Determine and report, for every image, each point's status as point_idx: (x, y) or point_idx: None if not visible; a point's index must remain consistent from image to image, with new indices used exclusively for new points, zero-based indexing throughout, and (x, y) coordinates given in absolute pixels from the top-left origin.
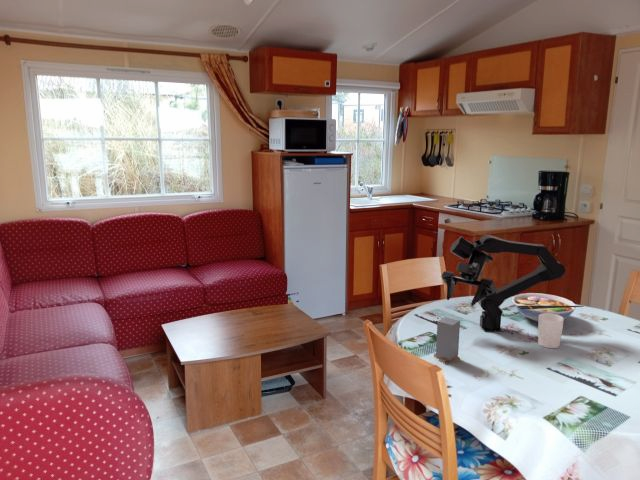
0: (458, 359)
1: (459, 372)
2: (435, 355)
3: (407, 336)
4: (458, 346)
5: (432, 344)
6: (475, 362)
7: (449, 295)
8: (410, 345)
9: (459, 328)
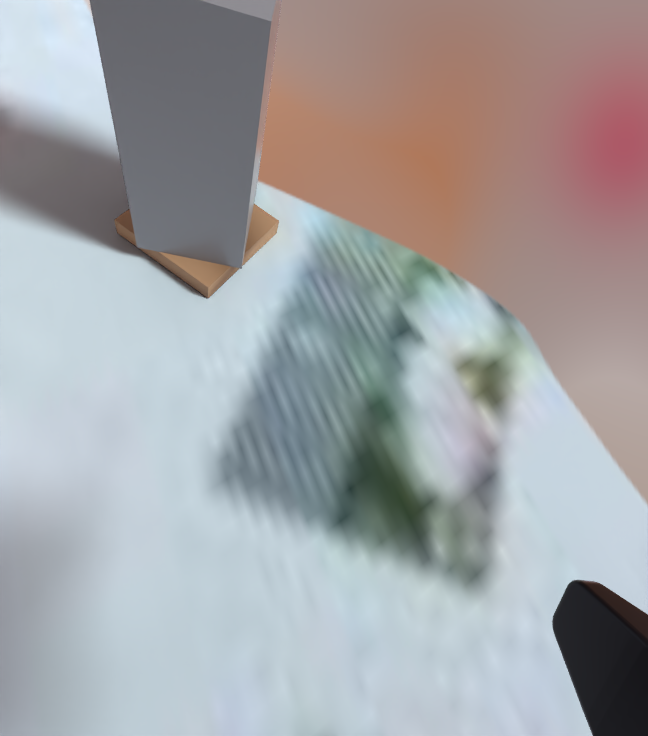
0: (124, 217)
1: (90, 123)
2: (265, 216)
3: (532, 413)
4: (128, 200)
5: (353, 375)
6: (16, 251)
7: (638, 684)
8: (445, 303)
9: (102, 60)
